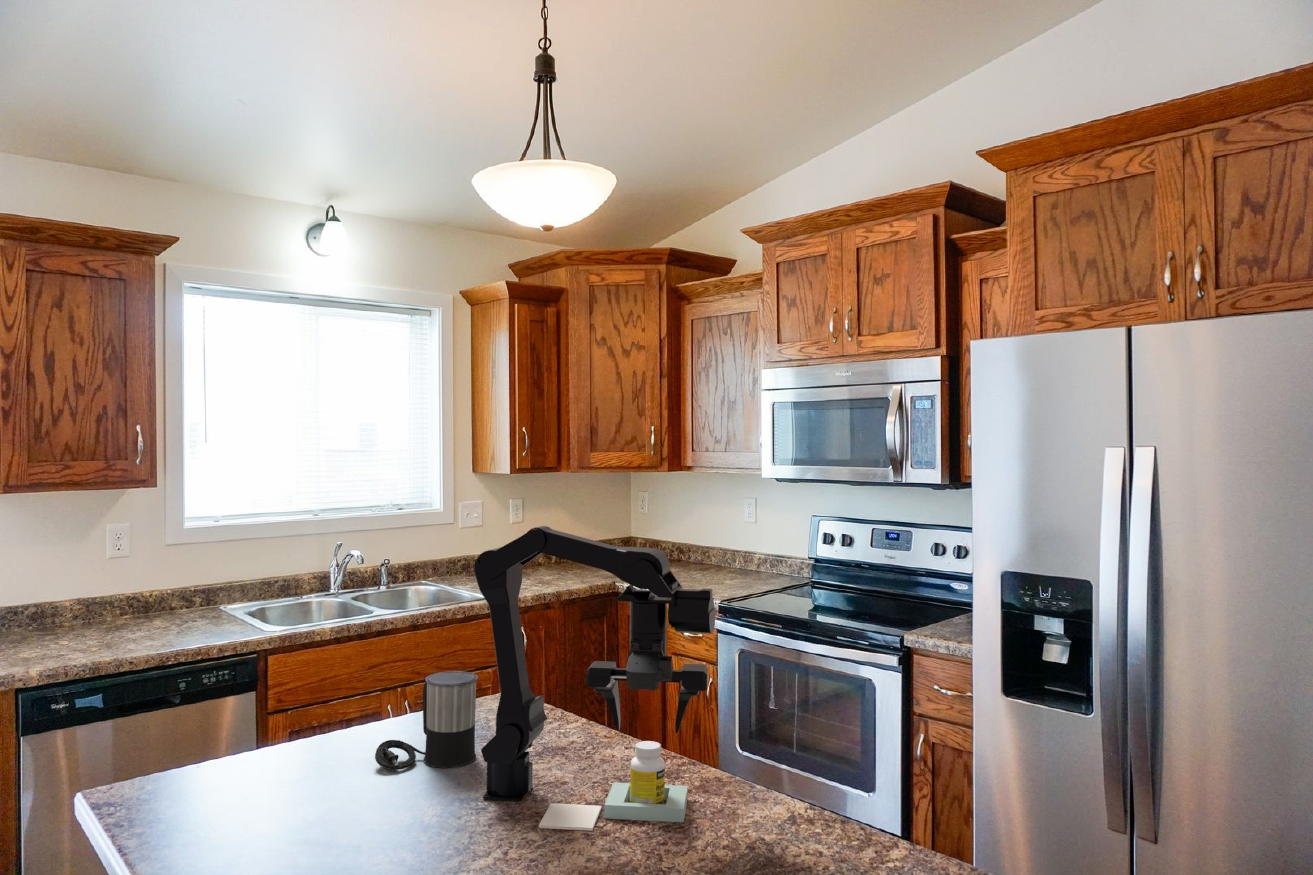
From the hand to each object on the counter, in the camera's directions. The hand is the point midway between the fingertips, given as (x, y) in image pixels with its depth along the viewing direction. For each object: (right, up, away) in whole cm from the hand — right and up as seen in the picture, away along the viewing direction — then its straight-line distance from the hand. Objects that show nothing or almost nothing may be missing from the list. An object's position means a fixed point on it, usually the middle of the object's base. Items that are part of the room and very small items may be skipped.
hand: (647, 730), depth 134 cm
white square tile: (-11, -12, -4) cm, 17 cm away
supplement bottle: (0, -12, 0) cm, 12 cm away
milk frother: (-39, -12, +19) cm, 45 cm away
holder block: (0, -12, 0) cm, 12 cm away
